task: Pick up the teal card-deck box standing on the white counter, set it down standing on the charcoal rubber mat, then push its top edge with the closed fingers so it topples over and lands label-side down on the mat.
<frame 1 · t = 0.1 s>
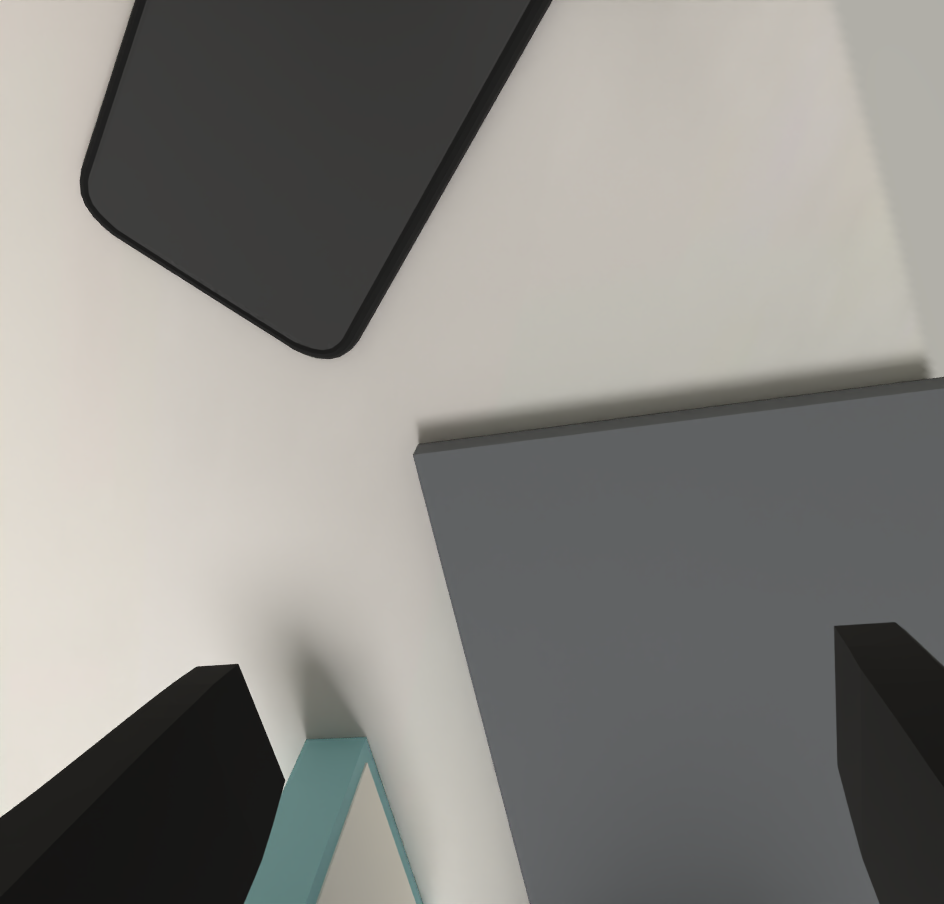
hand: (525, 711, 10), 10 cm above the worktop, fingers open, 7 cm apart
deck: (373, 838, 26), on the worktop
mat: (737, 709, 21), on the worktop
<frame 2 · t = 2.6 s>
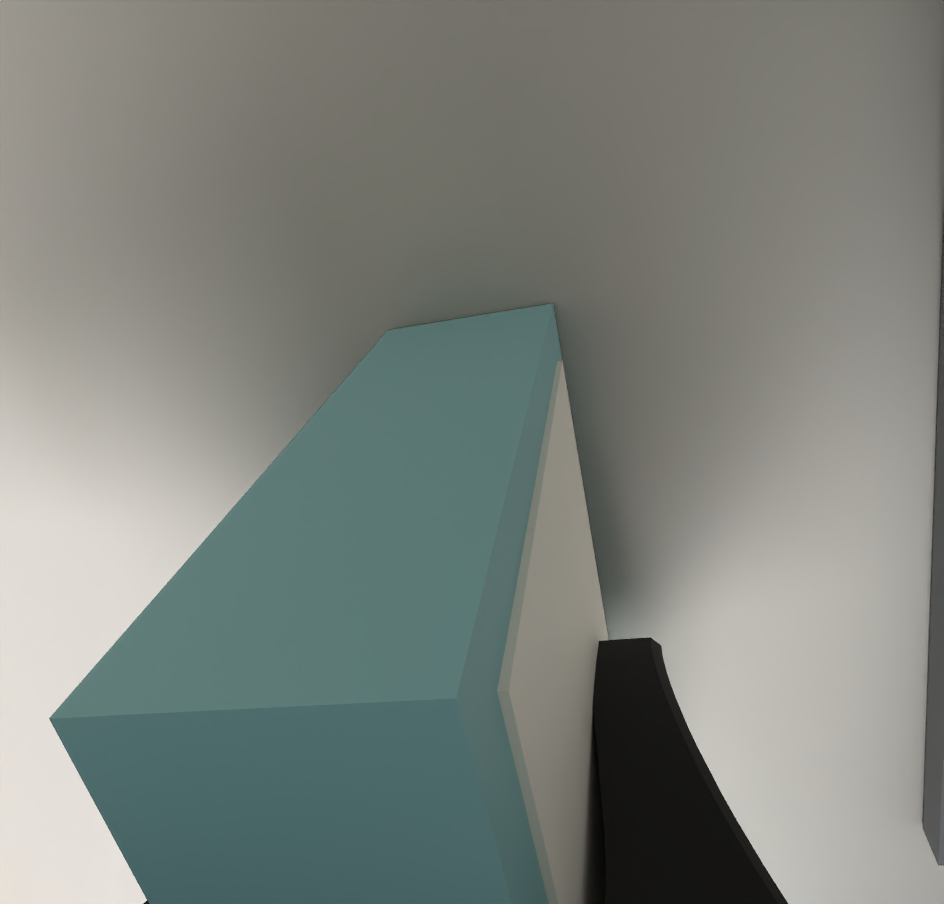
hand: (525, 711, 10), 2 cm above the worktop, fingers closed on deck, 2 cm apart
deck: (533, 627, 11), on the worktop, touching gripper
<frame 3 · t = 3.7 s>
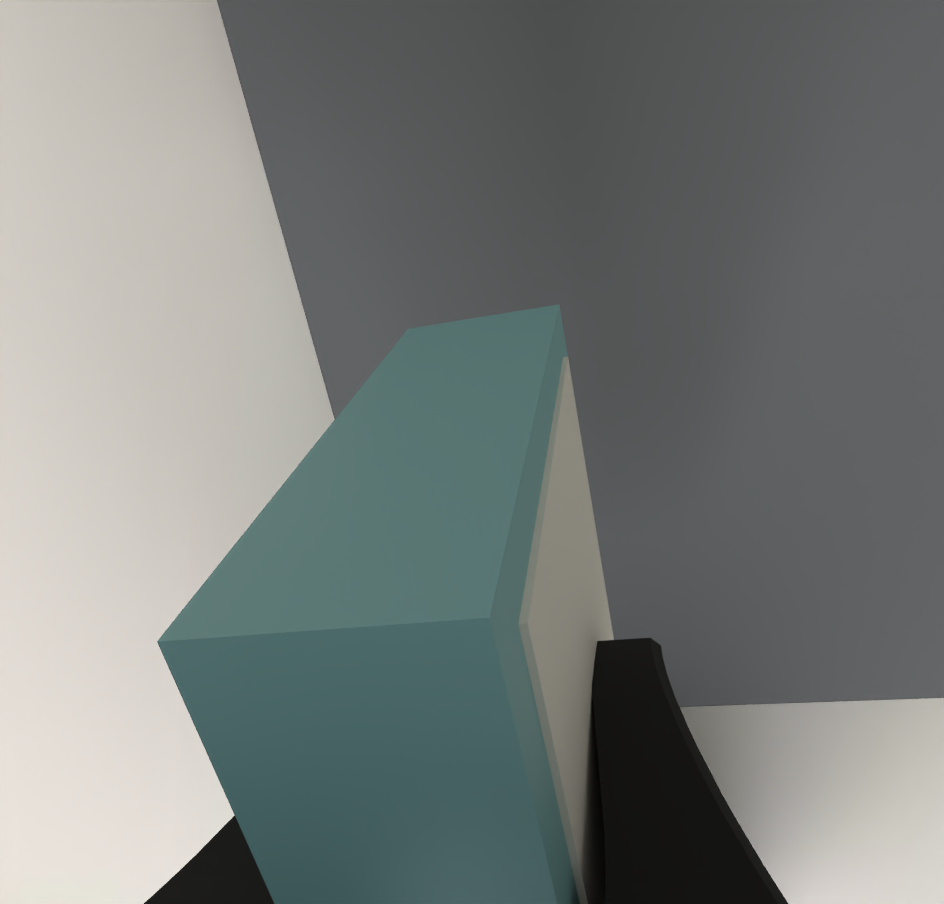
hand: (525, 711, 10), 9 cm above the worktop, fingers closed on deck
deck: (540, 604, 12), point 6 cm above the worktop, touching gripper
mat: (649, 356, 17), on the worktop
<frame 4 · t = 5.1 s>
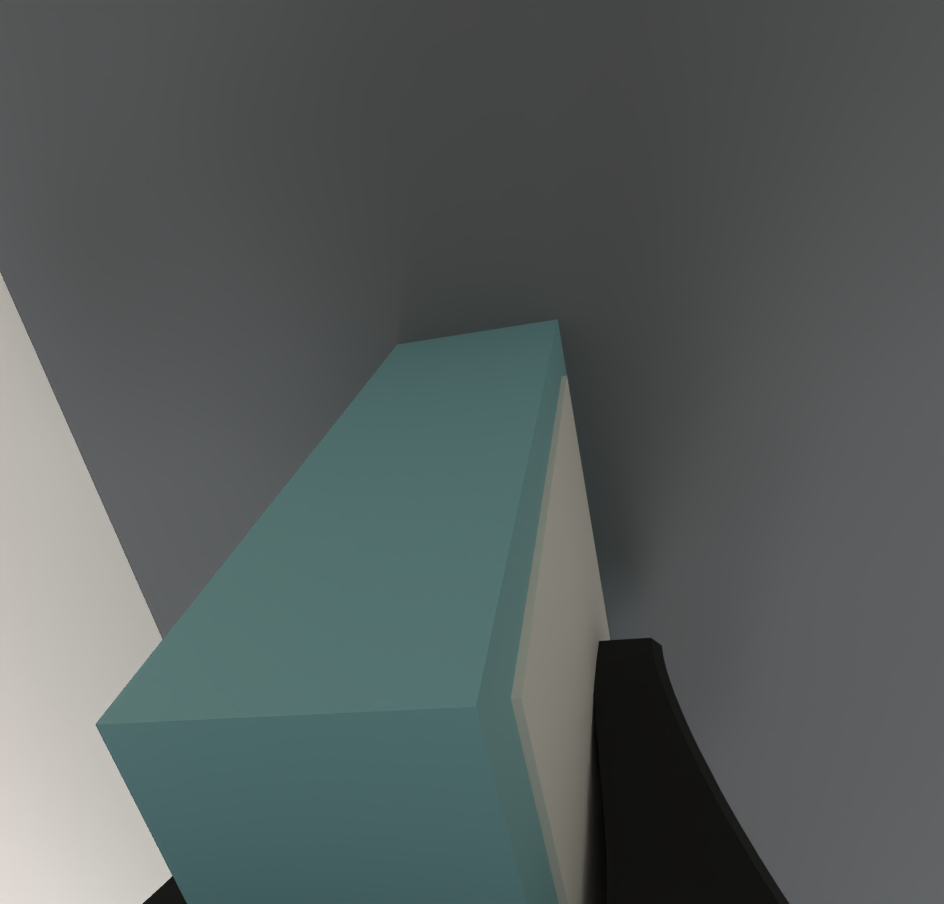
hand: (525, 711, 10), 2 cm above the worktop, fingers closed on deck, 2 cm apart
deck: (538, 633, 11), point 1 cm above the worktop, touching gripper, mat
mat: (599, 531, 11), on the worktop
when the fingers open (2 cm above the worktop, at t = 5.3 s): deck stays where it is, resting on mat.
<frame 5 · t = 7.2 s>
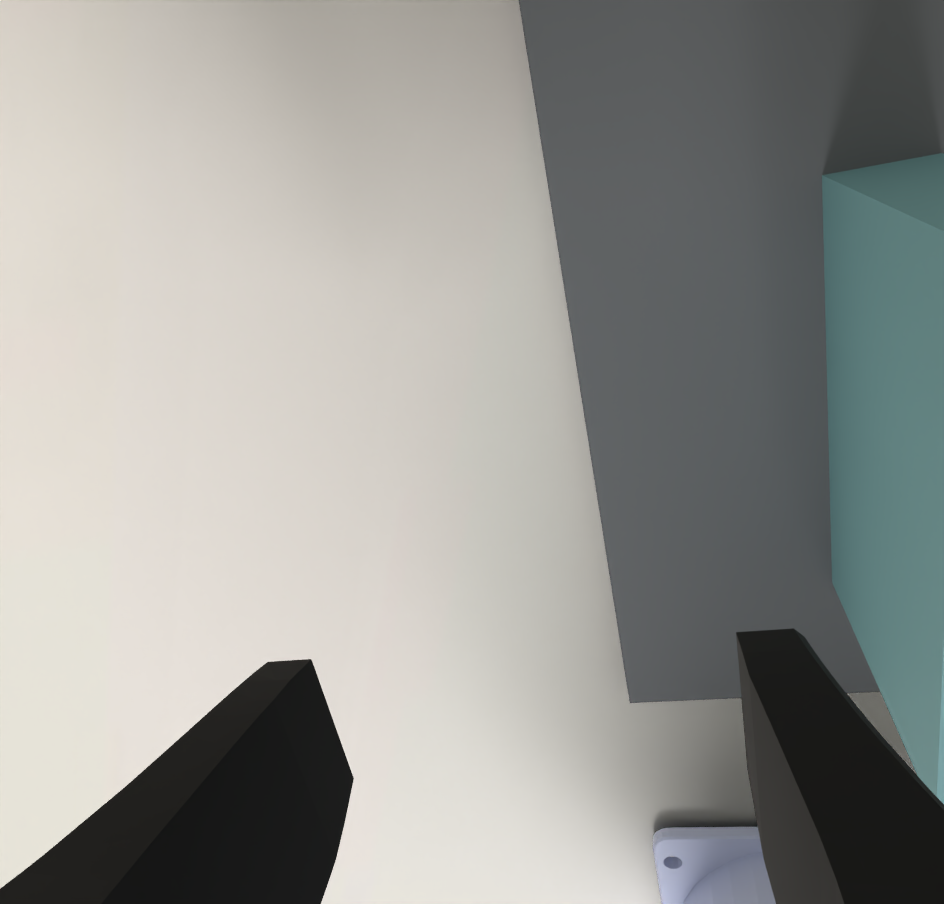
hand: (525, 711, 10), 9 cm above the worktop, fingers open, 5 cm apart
deck: (880, 394, 16), point 1 cm above the worktop, touching mat
mat: (926, 320, 16), on the worktop
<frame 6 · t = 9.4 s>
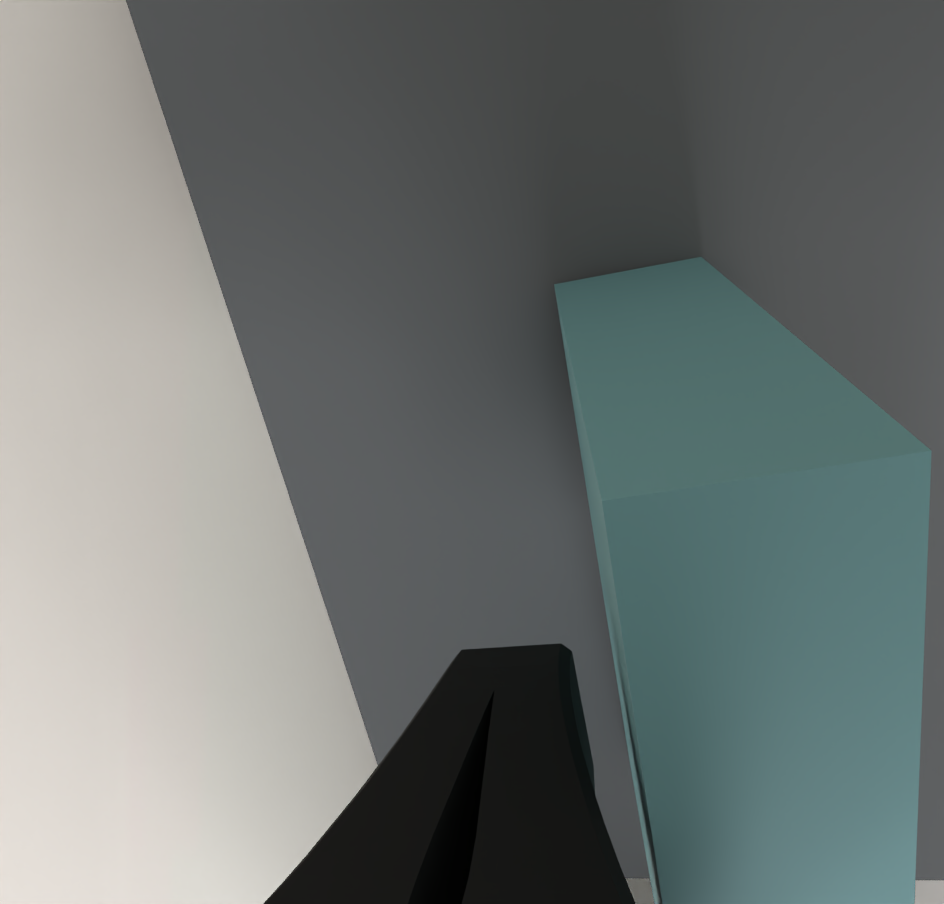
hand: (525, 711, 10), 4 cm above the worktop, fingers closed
deck: (660, 550, 12), point 1 cm above the worktop, tilted 6°, touching mat
mat: (716, 455, 12), on the worktop
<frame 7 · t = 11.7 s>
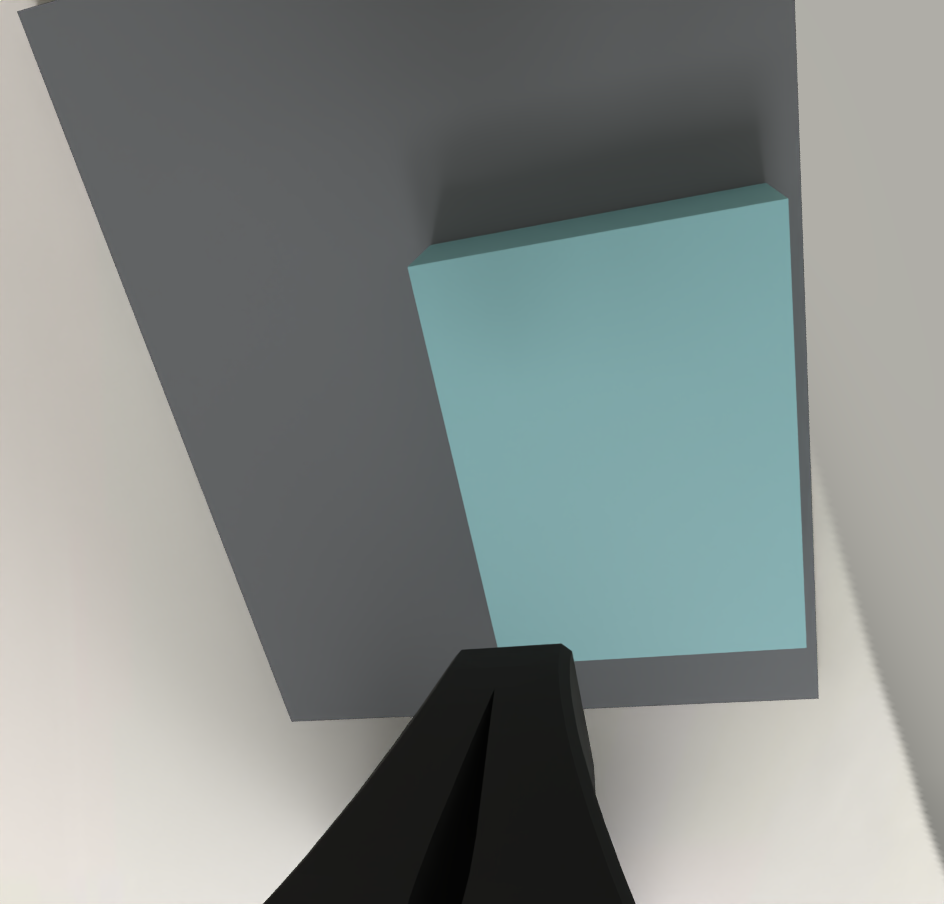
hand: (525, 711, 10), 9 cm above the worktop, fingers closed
deck: (468, 466, 17), point 2 cm above the worktop, tilted 90°, touching mat
mat: (469, 385, 18), on the worktop
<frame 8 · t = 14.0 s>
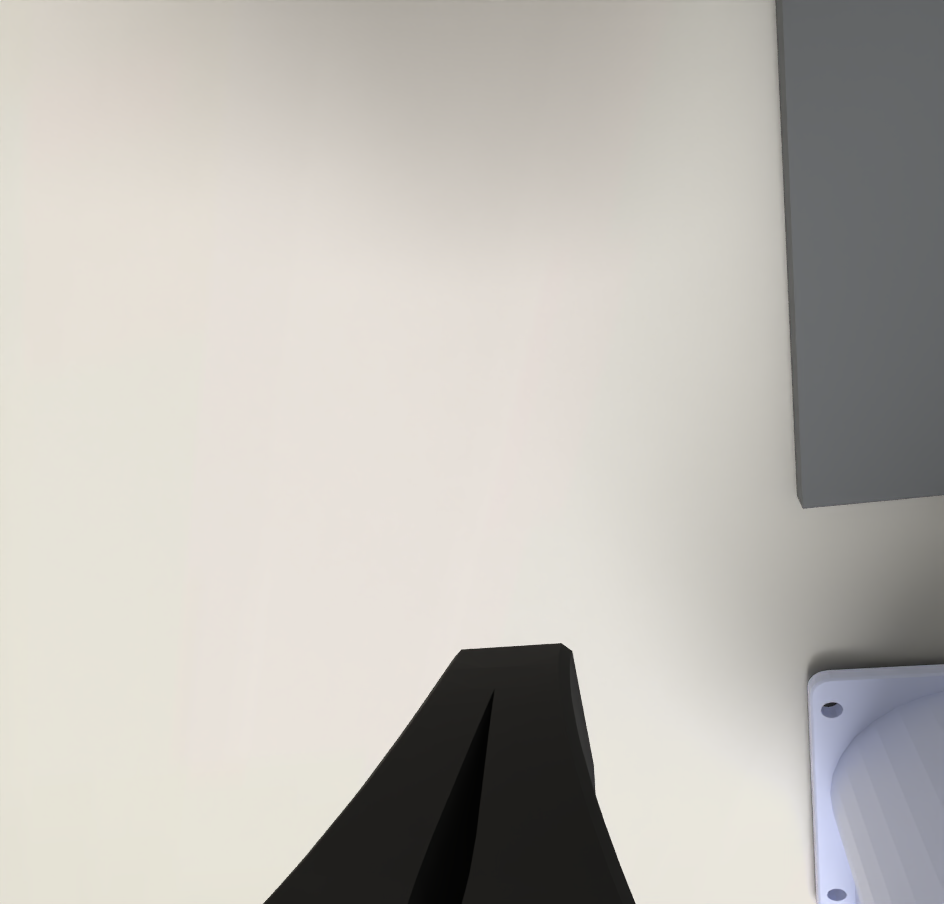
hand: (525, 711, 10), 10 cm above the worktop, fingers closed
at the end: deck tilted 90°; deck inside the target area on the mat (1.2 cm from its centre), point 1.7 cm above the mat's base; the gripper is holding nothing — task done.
